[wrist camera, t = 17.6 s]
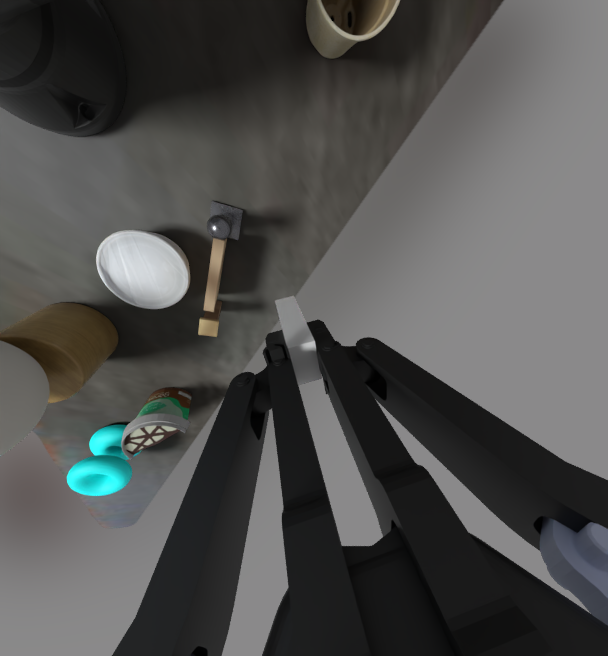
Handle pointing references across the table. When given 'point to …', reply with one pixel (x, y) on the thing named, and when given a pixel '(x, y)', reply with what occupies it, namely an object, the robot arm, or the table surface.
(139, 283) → the ramekin
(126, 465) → the donuts
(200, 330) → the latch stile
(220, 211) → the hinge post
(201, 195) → the table surface
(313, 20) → the flower pot
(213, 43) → the table surface
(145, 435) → the food container
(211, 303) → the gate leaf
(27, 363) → the lamp
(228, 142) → the table surface
